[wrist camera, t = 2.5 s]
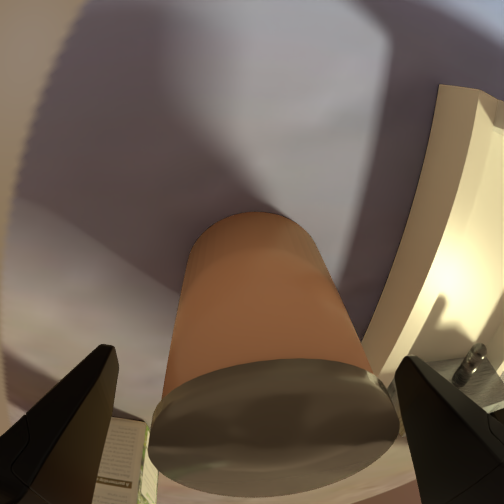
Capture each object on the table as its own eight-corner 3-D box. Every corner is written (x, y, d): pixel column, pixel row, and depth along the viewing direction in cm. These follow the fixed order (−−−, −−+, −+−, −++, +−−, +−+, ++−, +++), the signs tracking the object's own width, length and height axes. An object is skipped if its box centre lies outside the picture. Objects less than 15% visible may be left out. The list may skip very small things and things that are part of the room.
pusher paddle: (476, 364, 17) (503, 407, 13) (377, 377, 16) (401, 437, 12) (506, 317, 15) (540, 361, 11) (407, 322, 14) (443, 385, 10)
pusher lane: (447, 401, 20) (475, 459, 15) (323, 418, 19) (340, 497, 14) (566, 155, 11) (639, 196, 6) (439, 84, 10) (559, 108, 4)
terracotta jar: (307, 330, 15) (348, 488, 8) (182, 323, 14) (161, 492, 7) (339, 216, 12) (445, 379, 5) (184, 201, 12) (127, 383, 5)
